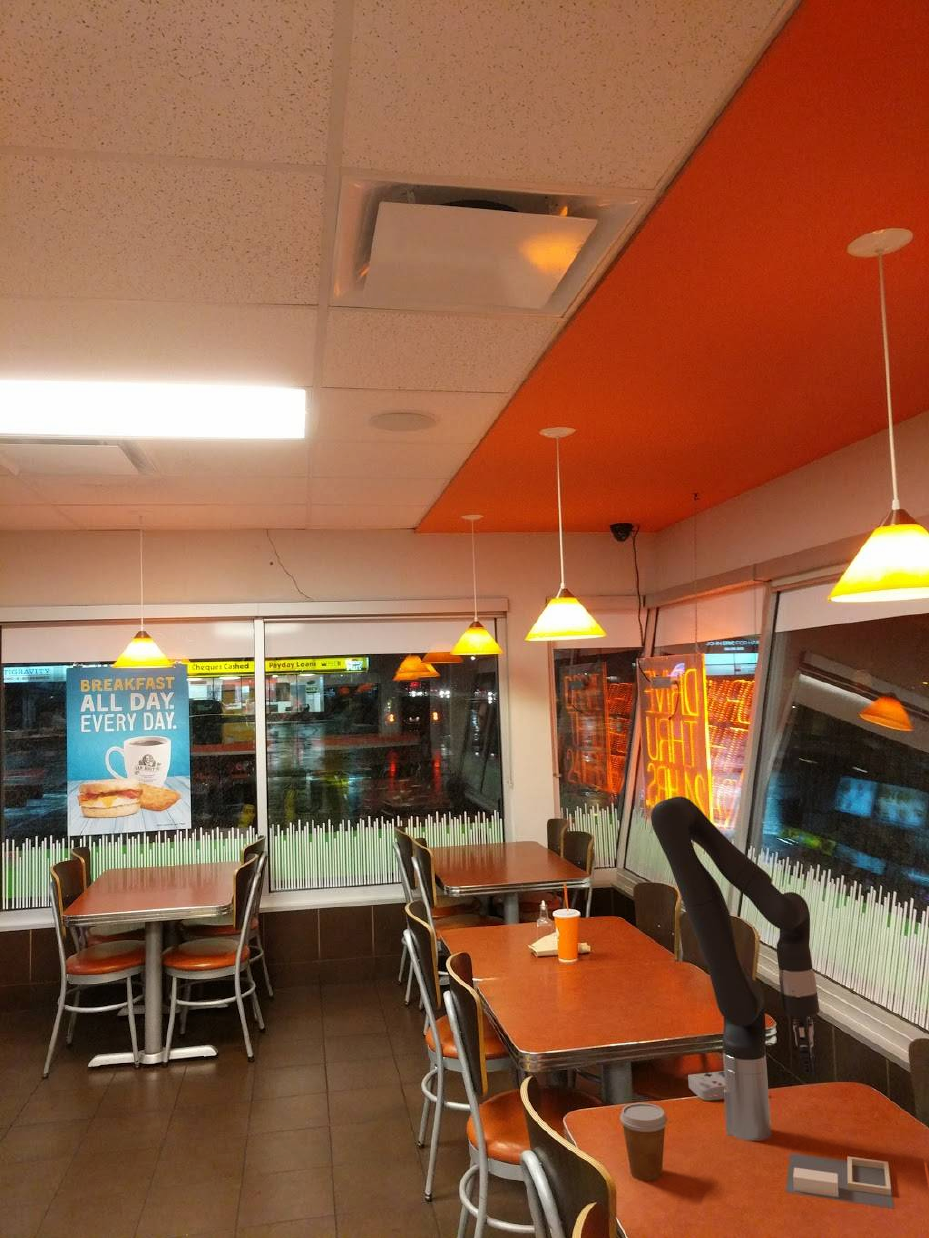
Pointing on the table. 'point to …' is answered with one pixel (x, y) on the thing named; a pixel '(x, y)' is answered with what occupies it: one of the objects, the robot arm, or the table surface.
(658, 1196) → the table surface
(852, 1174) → the mat
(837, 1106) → the table surface
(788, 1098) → the table surface
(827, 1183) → the tile
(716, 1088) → the handheld gaming device
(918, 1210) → the table surface
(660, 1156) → the disposable coffee cup
